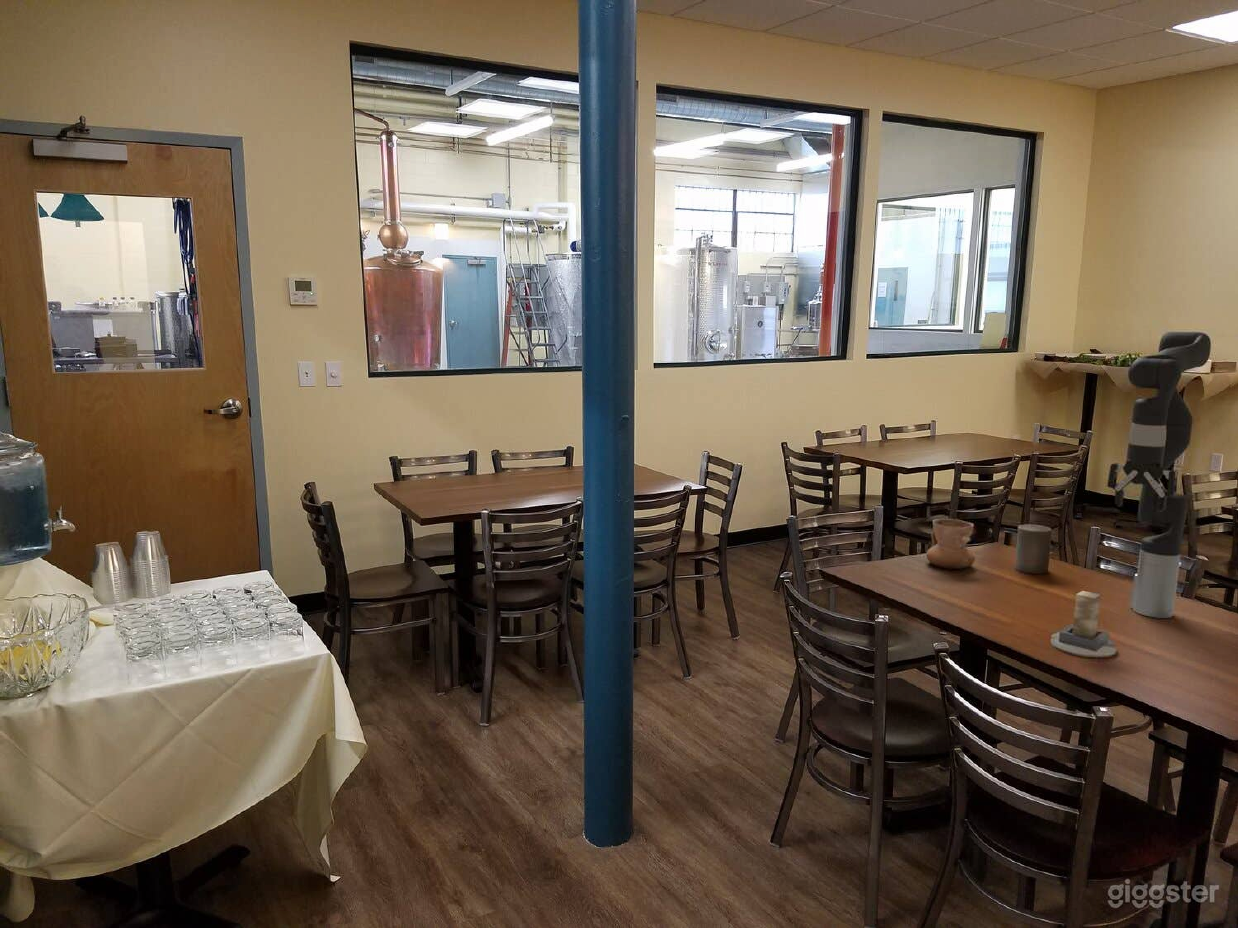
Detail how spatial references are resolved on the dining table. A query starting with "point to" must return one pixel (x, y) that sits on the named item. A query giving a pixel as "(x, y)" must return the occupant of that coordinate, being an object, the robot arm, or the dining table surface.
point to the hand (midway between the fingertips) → (1138, 508)
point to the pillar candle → (1033, 549)
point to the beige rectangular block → (1086, 614)
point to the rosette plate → (1083, 643)
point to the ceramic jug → (951, 544)
